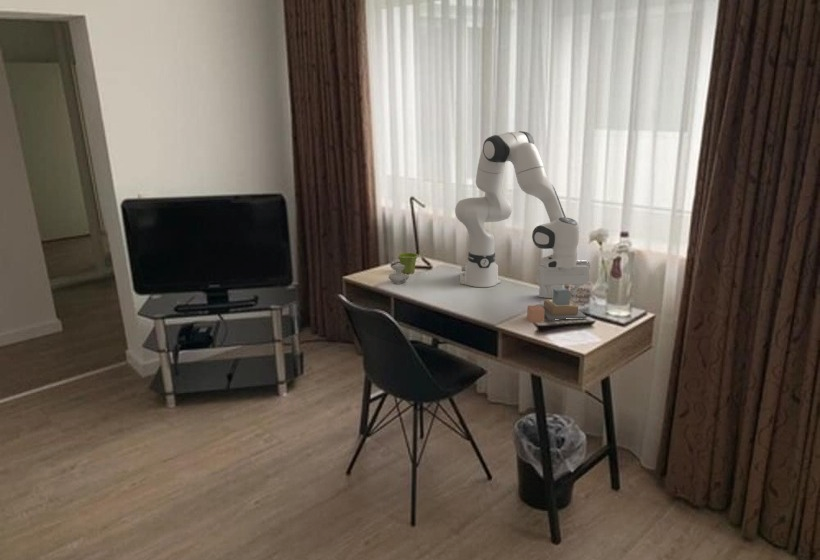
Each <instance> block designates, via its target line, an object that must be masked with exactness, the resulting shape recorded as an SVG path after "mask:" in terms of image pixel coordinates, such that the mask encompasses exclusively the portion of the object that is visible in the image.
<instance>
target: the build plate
mask: <svg viewBox="0 0 820 560" xmlns="http://www.w3.org/2000/svg"><path fill="white" fill-rule="evenodd" d="M537 305H541V306H542V307H543V308H544V309H545V313H544V319H546V320H547V321H548V320H553V321H556V320H555V319H566V318H586V319H587V315H586V314H584V313H583V312H582V311H581V310H580V309H579V306H578V305H577V304H576V303H574V302H573V301H572V300H571V299H570V305H556V304H555V303H554V302H553V299H552V298H544V300H543V303H541V304H537Z"/></svg>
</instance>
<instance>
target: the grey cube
mask: <svg viewBox="0 0 820 560" xmlns="http://www.w3.org/2000/svg"><path fill="white" fill-rule="evenodd" d="M570 300H571V290H570V291H569V290H568V289H567V288H565V287H564V289H553V302H554V303H555V304H556V305H570Z"/></svg>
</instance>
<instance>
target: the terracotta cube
mask: <svg viewBox="0 0 820 560" xmlns="http://www.w3.org/2000/svg"><path fill="white" fill-rule="evenodd" d="M544 313H545V309H544V308H543V307H542V306H541V305H538V304H535V305H531V304H530V305H527V310H526V319H527V320H528V322H530V323H542V322H541V321H545V317H544Z"/></svg>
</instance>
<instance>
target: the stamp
mask: <svg viewBox="0 0 820 560" xmlns="http://www.w3.org/2000/svg"><path fill="white" fill-rule="evenodd" d="M391 268H392V270H393V271H395V272H394V273H392V274H391V273H390V274H388V279H389V280H390V282H391V283H394V284H397V285H400V284H403V283H406V282H407V280H408V279H409V278H410V276H409V274H403V273H402V272H401V271H402V270H404V268H405V265H401V264H400V263H396V264H393V265H392V266H391Z"/></svg>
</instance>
